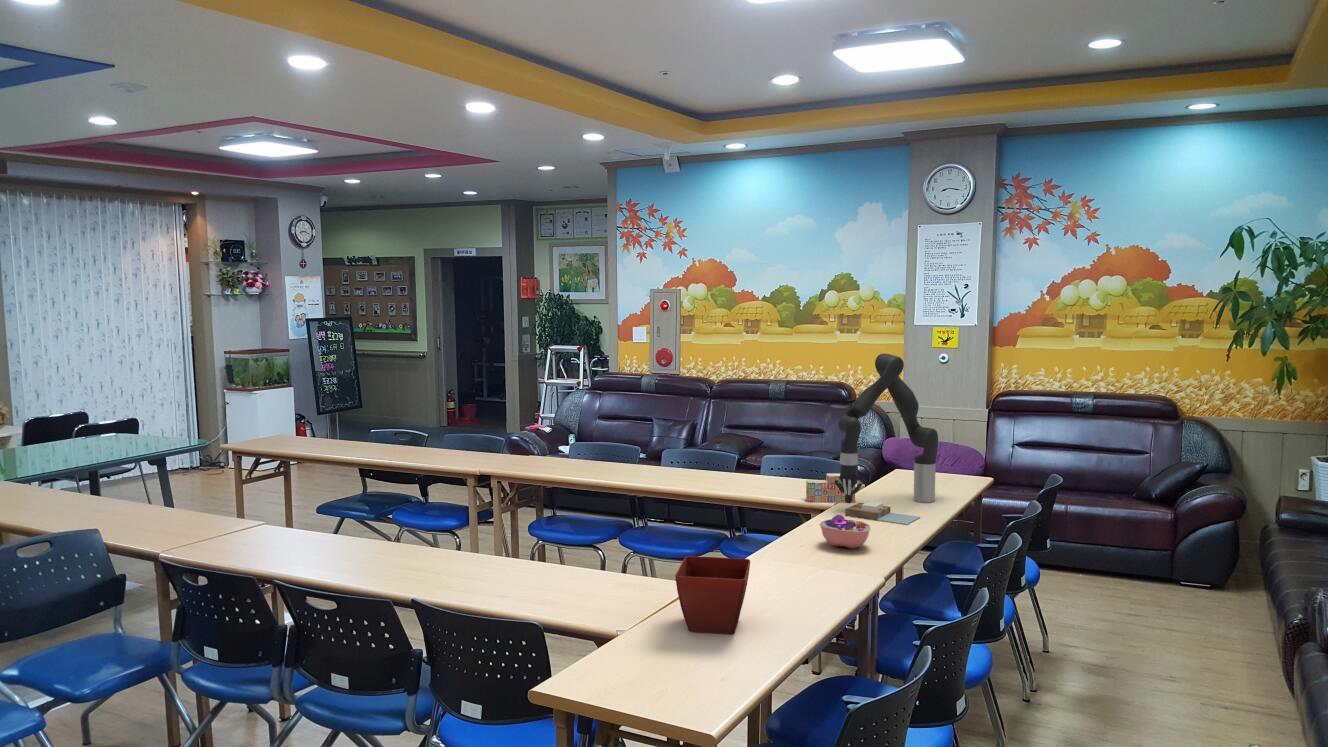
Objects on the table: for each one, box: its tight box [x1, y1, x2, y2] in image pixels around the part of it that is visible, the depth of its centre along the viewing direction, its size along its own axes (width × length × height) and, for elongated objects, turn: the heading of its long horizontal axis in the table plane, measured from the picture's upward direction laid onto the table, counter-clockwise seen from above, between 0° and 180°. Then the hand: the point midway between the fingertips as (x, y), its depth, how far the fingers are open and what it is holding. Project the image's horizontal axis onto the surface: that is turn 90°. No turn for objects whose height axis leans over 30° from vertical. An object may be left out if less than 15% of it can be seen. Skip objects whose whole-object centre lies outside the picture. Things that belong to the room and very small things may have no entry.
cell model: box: [819, 514, 871, 549], centre depth 328 cm, size 17×20×11 cm
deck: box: [844, 502, 891, 522], centre depth 377 cm, size 14×14×3 cm
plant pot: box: [675, 555, 751, 635], centre depth 249 cm, size 19×19×17 cm
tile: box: [862, 501, 884, 511], centre depth 376 cm, size 8×6×2 cm
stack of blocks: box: [805, 473, 857, 504], centre depth 403 cm, size 21×6×12 cm, turn 86°
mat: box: [876, 512, 921, 526], centre depth 369 cm, size 14×13×1 cm
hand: (848, 502), depth 382 cm, fingers closed
